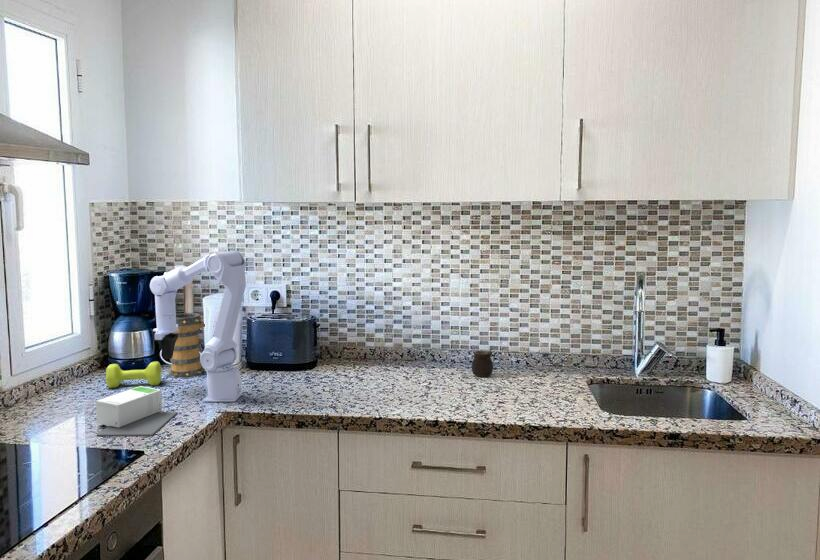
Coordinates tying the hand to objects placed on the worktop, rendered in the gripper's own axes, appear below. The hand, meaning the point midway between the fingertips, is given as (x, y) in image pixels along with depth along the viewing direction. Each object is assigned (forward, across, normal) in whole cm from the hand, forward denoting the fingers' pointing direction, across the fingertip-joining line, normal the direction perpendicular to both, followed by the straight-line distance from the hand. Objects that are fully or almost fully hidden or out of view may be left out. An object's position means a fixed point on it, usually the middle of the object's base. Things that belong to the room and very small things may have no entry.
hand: (168, 358), depth 212 cm
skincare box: (+7, +20, +2) cm, 21 cm away
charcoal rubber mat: (+10, +31, +3) cm, 33 cm away
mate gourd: (+11, -16, +98) cm, 100 cm away
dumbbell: (+11, -7, -14) cm, 19 cm away
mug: (+11, -22, 0) cm, 24 cm away
